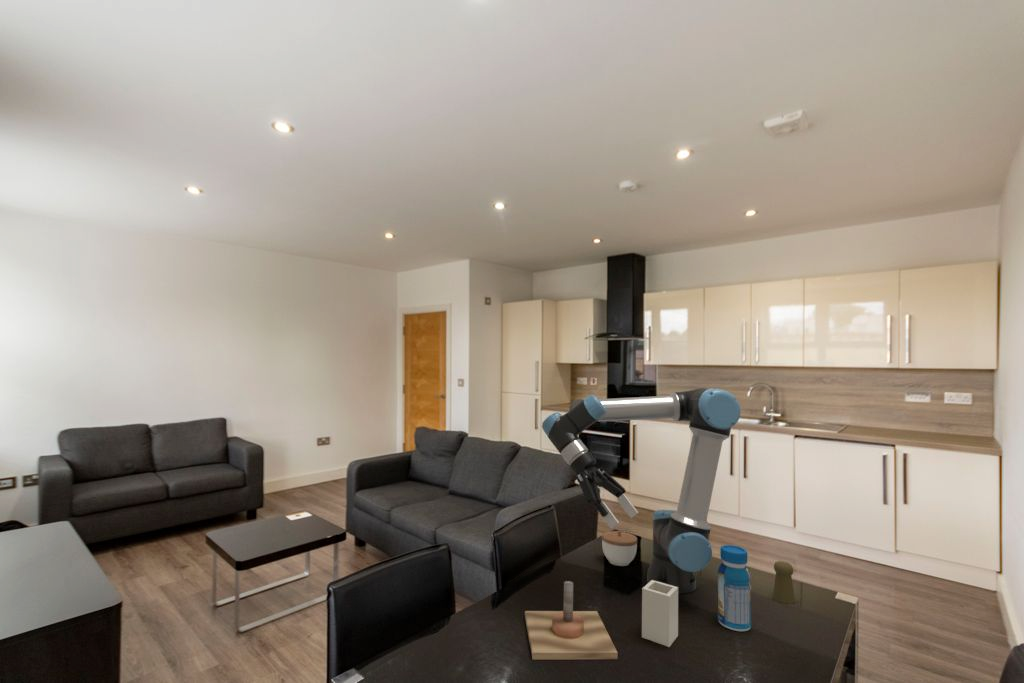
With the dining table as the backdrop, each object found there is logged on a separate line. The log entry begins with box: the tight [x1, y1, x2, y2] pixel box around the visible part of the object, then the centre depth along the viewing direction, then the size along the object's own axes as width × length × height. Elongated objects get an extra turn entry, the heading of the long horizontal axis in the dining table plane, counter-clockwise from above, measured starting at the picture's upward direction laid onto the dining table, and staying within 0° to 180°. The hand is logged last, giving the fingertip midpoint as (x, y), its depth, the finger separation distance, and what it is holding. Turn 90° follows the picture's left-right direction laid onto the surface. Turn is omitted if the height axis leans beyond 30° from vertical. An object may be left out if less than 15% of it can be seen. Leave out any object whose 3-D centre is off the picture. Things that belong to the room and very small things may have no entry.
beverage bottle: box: [716, 544, 752, 632], centre depth 129 cm, size 8×8×20 cm
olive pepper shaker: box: [772, 560, 796, 605], centre depth 145 cm, size 6×6×11 cm
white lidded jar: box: [601, 530, 638, 567], centre depth 171 cm, size 13×13×11 cm
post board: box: [524, 580, 619, 661], centre depth 120 cm, size 20×20×13 cm
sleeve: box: [641, 580, 679, 648], centre depth 122 cm, size 7×7×12 cm
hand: (625, 520), depth 131 cm, fingers open, 13 cm apart
